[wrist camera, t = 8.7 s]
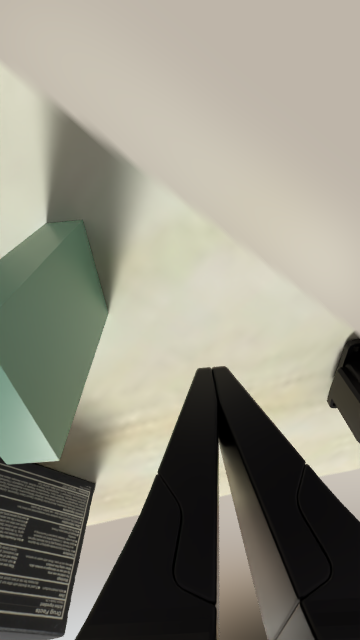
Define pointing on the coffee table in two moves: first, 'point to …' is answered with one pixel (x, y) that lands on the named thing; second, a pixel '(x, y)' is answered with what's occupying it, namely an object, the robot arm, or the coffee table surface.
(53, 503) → the small box
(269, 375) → the coffee table surface
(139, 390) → the coffee table surface
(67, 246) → the tile
